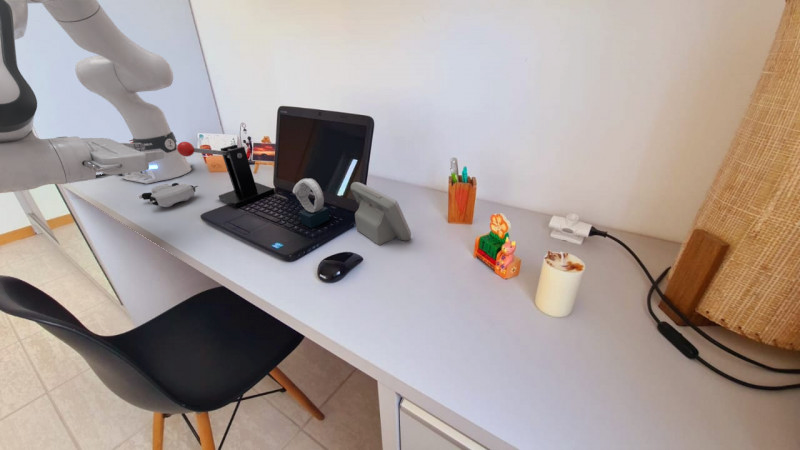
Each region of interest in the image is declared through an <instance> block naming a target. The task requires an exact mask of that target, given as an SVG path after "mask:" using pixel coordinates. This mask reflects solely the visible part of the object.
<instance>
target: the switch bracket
mask: <svg viewBox="0 0 800 450" xmlns="http://www.w3.org/2000/svg"><path fill="white" fill-rule="evenodd" d="M228 149H232V150H228ZM227 150H228V154H229V158H227V155H222V158H223V161H224V164H225V168H226V170H227V174H228V176H229V179H230V182H231V185H232V188H233V190H231V191H227V192H225V193H222V194H219V195H218V199H219V201H220V202H222V203H224V204H227V205H229V206H231V207H234V208H235V209H239V208H241V207H244V206H247V205H249V204H252V203H253V202H257V201H259V200H261V199H263V198H267V197H270V196H272V195H273V194H275V193H276V192H275V189H274V188H273V187H271V186H267V185H265V184H262V183H259V182H257V181H255V179H254V175H253V171H252V168H251V165H250V161H249V158H248V154H247V151H246V148H245V146H239V147H238V145H237V144H232V145H228V146H224V147H221V148H220V151H227Z"/></svg>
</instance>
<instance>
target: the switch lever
mask: <svg viewBox="0 0 800 450" xmlns="http://www.w3.org/2000/svg"><path fill="white" fill-rule="evenodd" d="M177 145H178V146H177V150H178V152H179V154H181V155H182V156H185V158H187V157H191V156H193V155H194V153H199V154H207V155H208V154H209V155H220V156H223V155H227V158H229V154H228V150H232V149H228V150H227V151H221V150H220V149H219V150H218V149H209V148H208V149H207V148H199V147H194V145H193V144H192V143H191V142H189V141H181V142H179V143H178V144H177Z"/></svg>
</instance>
